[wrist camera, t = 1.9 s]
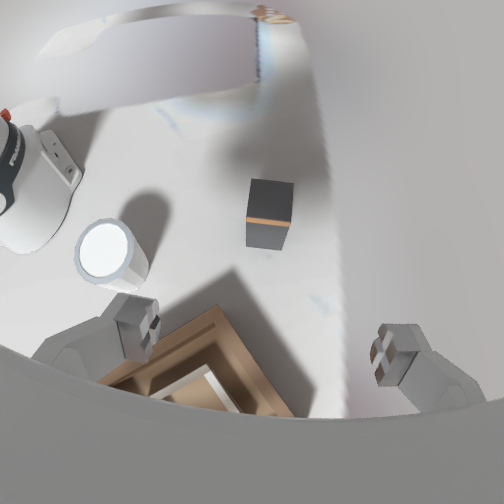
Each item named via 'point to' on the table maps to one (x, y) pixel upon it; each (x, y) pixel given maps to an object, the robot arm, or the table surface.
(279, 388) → the table surface
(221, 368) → the walnut box
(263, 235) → the dark grey banded block
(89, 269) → the white cup
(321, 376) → the table surface
